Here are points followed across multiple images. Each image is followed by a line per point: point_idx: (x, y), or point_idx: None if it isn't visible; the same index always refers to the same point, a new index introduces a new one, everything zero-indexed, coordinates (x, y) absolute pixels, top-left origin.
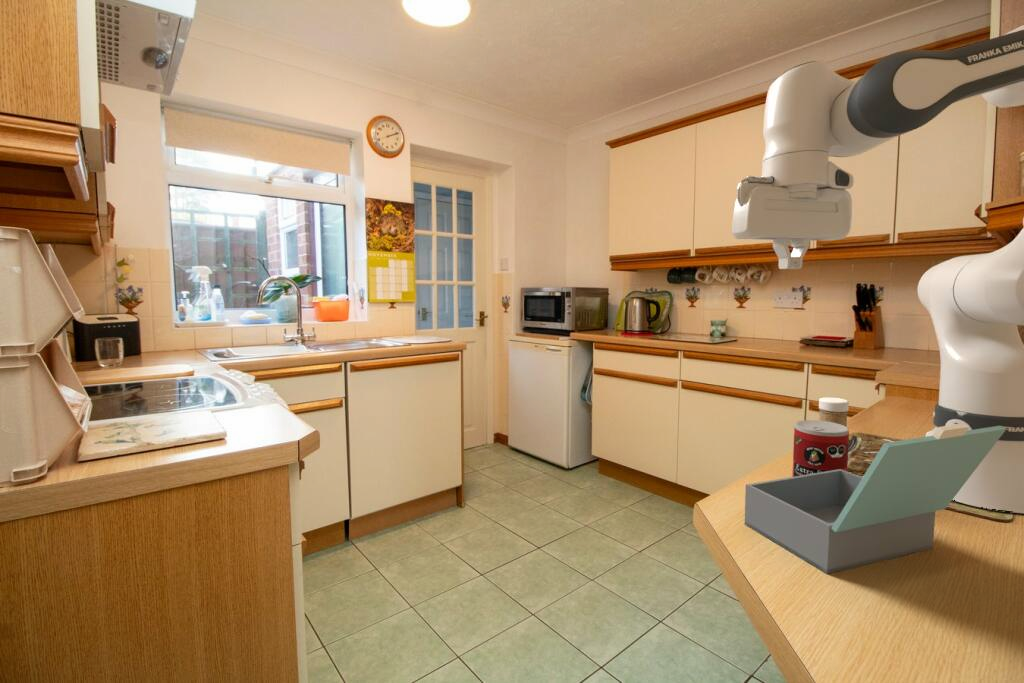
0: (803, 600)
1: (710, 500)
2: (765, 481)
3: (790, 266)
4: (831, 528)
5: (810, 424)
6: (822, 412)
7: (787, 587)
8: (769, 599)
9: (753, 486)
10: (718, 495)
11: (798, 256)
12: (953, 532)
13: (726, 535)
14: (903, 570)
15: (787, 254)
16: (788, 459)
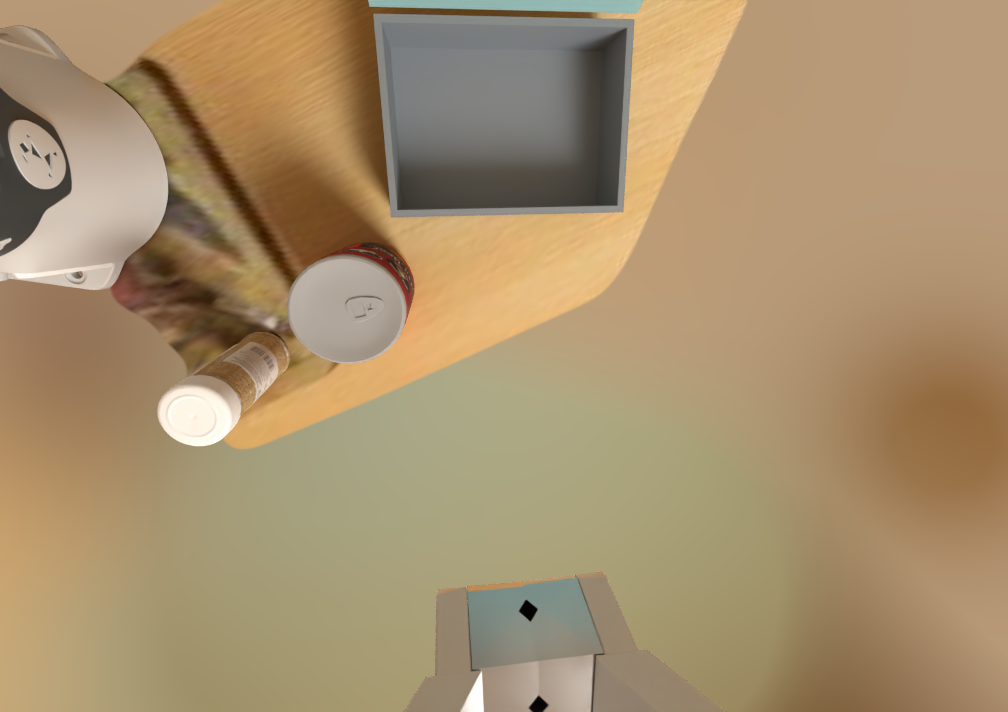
0: (688, 7)
1: (586, 300)
2: (580, 212)
3: (572, 579)
4: (637, 12)
5: (346, 343)
6: (241, 406)
7: (682, 40)
8: (724, 27)
9: (611, 206)
10: (560, 313)
11: (480, 686)
12: (292, 69)
13: (650, 190)
14: (493, 10)
15: (663, 668)
16: (307, 419)
